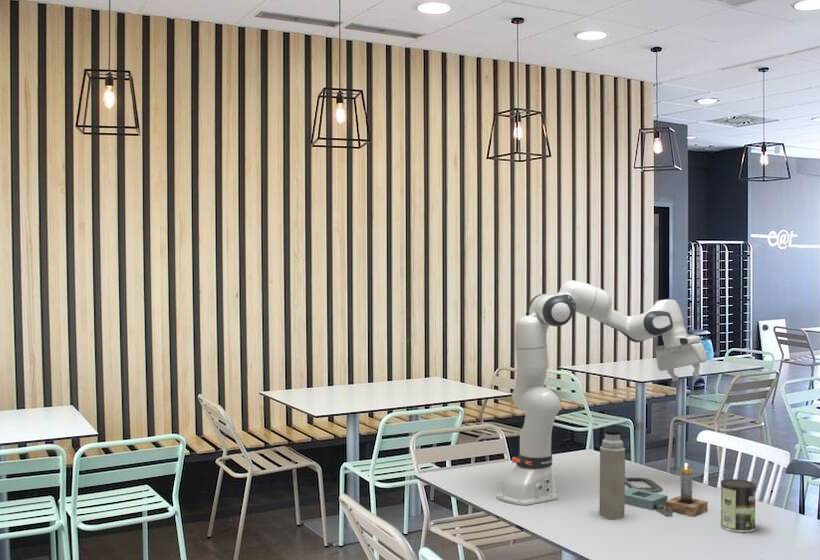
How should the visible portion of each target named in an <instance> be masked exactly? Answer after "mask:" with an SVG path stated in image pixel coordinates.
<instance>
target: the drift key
mask: <svg viewBox="0 0 820 560" xmlns="http://www.w3.org/2000/svg"><path fill="white" fill-rule="evenodd" d="M653 511H656V512H658V513H660V514H661V515H664V516H665V517H666V518H667V517H668V518H669V517H673V512H671V511H669V510H667V509H665V505H664V506H663V505H661V504H654V510H653Z"/></svg>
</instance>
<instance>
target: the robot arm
mask: <svg viewBox="0 0 820 560" xmlns="http://www.w3.org/2000/svg"><path fill="white" fill-rule="evenodd" d="M612 303H613V301H612V298H611V296H610V293H608V291H605V290H604V289H602V288H600V287H598V286H595V285H592V284H589V283H588V282H587V283H586V282H582V281H578V280H574V279H573V280H571V279H570V280H567V281H565V282H564V283H563V284H561V287H560V289H559V291H558V292H557V294H554V293H553V294H552V293H540V294H537V295H535V296H534V297H532V299H531V300H530V302H529V304H528V308H527V311H526V313H525V315H524V316H522V317H520V318H519V319H518V320H517V321H516V323H515V333H514V335H515V336H514V340H515V341H514V342H515V343H514V344H515V358H516V377H515V378H516V379H515V385H514V386H515V387H514V389H513V391H512V402H513V403H514V405H515V406H516V408H518V410H520V411H521V412H523V413H524V414H525V415H524V416H525V417H524V423H523V426H522V428H521V430H520V431H519V432H520V433H519V453H518V455H517V457H516V456H513V457H512V458H511V462H512V463H514V464H516V465H515V467H514V468H513V470H512V471H510V473H509V475H507V476H506V478H505V479H504V481H503V486H502V491H500V492H499V493H497V494H496V495H495V498H496V499H497V500H500V501H503V502H505V503H509V504H515V505H521V506H530V505H533V504H538V503H544V502H549V501H553V500H558V495H557V494H556V488H555V487H556V486H555V476H554V475H555V474H554V473H553V470H552V466H553V455H552V432H553V427H554V422H555V418H556V416H557V415H558V414H559V412H560V410H561V401H560V398H559V396H558V395H557V394H556V393H555V392H554V391H552V390H551V389H549V388H547V387H545V379H546V374H547V372H548V370H549V359H548V358H549V357H548V346H547V345H548V344H547V332H548V329H549V327H551V326H552V327H562V326H565V325H566V324H567V323H569V322H570V320H571V319H572V318H573V315H574V313H579V314H581V315H583V316H585V317H587V318H588V317H589V318H591V319H592V320H593V319H594V320H595V321H598V322H599V323H601V324H604V325H605V326H608V327H610V328H612V329H614V330H617V331H618V332H620V333H621V334H623V335H624V337H626V338H627V339H628V340H629V341H631V342H633V343H642V342H644V341H647V340H650V339H653V338H656V337H659V336H661V337H662V341H663V344H662V345H658V346H657V348H656V349H655V355H656V356H655V357H656V364H657V369H658V370H659V371H660V372H663V371H667V373H668V375H669V376H670V377H671V379H672V381H673V382H678V381H679V375H676V373H674V372H675V369H678V368H684V367H688V366H692V368H694V370H693V372H692V377H693V378H699V377H700V368H701V365H700V364H702V363H706V362H707V361H708V356H707V351H706V349H705V346H704V344H703V343H701V341H702V338H701V337H700V335H695V334H689V333H688V331H687V329H686V328H685V325H684V318H683V313H682V310H681V308H680V305H679V303H678V302H677V300H675V299H672V298H665V299H659V300H656V301H655V302H654V304H653V305H652V306H651V307H650V308H649V309H648V310H645V311H646V312H643V313H639V314H636V315H631V316H629V315H626V314H623V313H622V312H619V311H617V310H615V309H613V308H612Z"/></svg>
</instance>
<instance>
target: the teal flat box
mask: <svg viewBox="0 0 820 560" xmlns="http://www.w3.org/2000/svg"><path fill="white" fill-rule="evenodd" d="M668 498H669V497H668V495H667V494H662V493H659V492H649V491H645V490H640V489H636V488H630V487H629V488H626V489H625V505H629V506H633V507H638V508H641V507H642V508H641V509H645V508H646V509H647V510H650V511H655V510H654V504H661V505H663V506H664V507H665V501H667V500H668Z"/></svg>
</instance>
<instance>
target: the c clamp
mask: <svg viewBox="0 0 820 560" xmlns="http://www.w3.org/2000/svg"><path fill="white" fill-rule="evenodd" d="M628 481H634V482H638V481H643V482H642V483H644V482H646V483H647V484H648V485H647V484H646V483H645V484H646V485H647V487H646V486H644V487H641V486H640V487H639V486H638V487H637V486H634V485H633V484H632V483H631V482H628ZM649 485H650V486H651V487H650V486H649ZM625 486H627V487H629V488H636V489H640V490H645V491H649V492H654V493H661V492H663V491H662V490H664V489H663V487H662V486H660V485H659V484H657V483H656V482H655V481H653V480H652V479H650V478H649V479H648V478H646V477H645V478H644V477H627V476H625ZM648 486H649V487H648ZM660 491H661V492H660Z"/></svg>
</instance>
